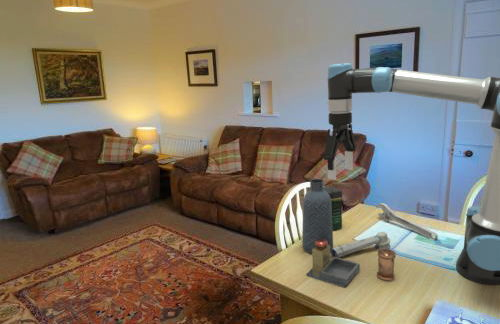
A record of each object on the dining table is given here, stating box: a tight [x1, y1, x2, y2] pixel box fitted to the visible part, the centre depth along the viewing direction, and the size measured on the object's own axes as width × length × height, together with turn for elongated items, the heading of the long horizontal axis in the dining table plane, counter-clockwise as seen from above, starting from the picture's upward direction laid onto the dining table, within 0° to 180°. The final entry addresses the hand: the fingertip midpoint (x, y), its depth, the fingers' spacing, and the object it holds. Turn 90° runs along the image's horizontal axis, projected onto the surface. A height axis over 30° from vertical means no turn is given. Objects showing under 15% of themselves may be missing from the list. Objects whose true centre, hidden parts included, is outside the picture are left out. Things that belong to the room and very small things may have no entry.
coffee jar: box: [324, 185, 343, 231], centre depth 163 cm, size 10×8×19 cm
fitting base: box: [306, 239, 361, 289], centre depth 126 cm, size 14×13×11 cm
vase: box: [301, 178, 334, 255], centre depth 143 cm, size 12×12×28 cm
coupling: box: [376, 248, 397, 282], centre depth 123 cm, size 6×6×9 cm
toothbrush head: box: [330, 231, 391, 258], centre depth 141 cm, size 5×7×25 cm
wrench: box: [375, 202, 439, 241], centre depth 159 cm, size 8×2×30 cm
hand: (340, 174), depth 125 cm, fingers open, 13 cm apart
